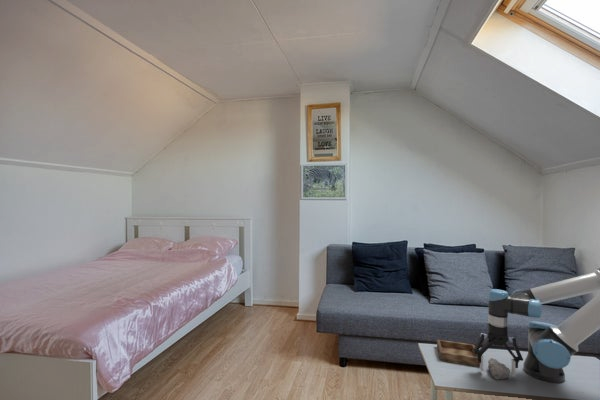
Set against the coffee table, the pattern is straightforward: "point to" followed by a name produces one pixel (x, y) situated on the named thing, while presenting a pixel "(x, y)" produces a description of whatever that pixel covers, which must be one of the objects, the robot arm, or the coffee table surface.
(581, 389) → the coffee table surface
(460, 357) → the tray
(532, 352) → the robot arm
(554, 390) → the coffee table surface
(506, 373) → the stone
